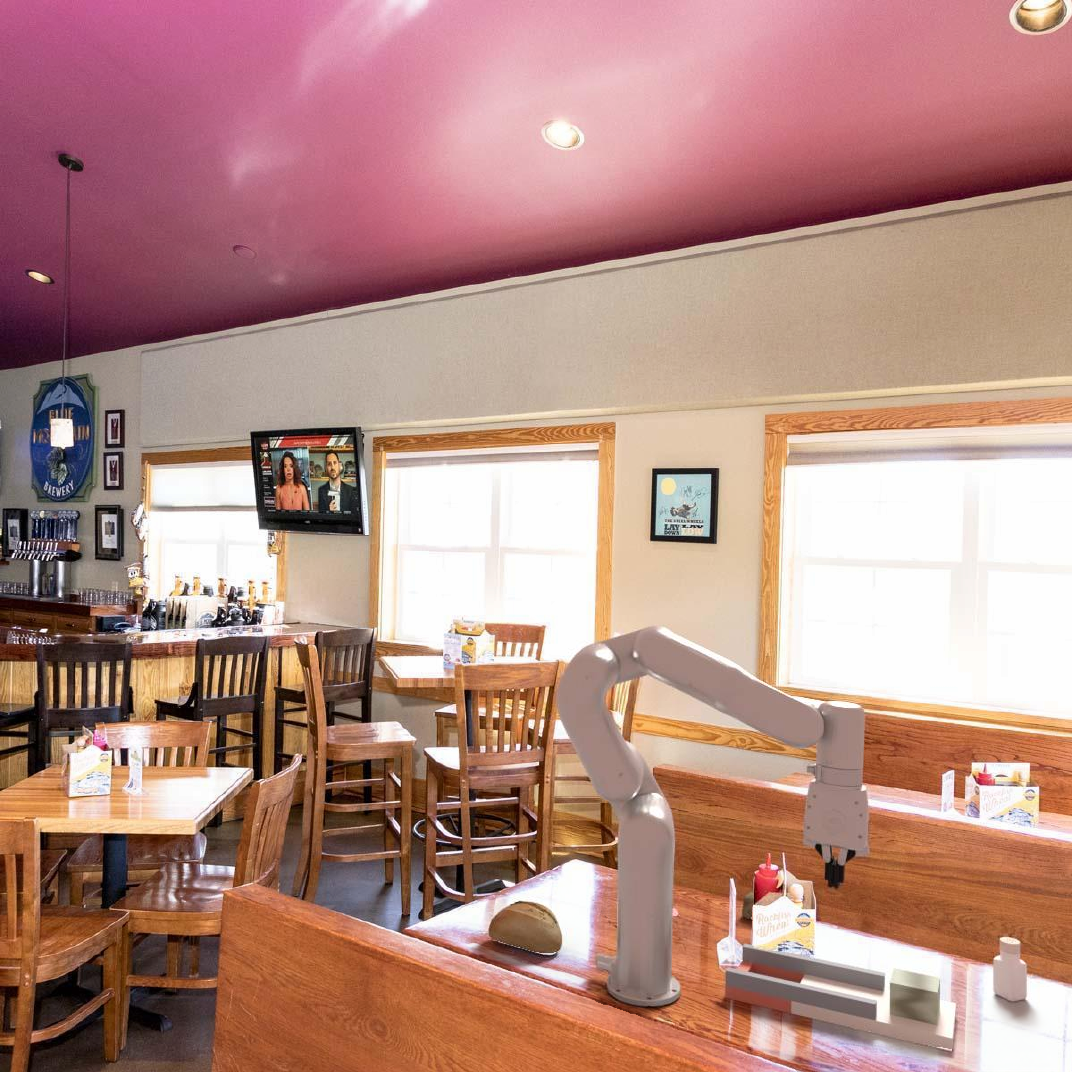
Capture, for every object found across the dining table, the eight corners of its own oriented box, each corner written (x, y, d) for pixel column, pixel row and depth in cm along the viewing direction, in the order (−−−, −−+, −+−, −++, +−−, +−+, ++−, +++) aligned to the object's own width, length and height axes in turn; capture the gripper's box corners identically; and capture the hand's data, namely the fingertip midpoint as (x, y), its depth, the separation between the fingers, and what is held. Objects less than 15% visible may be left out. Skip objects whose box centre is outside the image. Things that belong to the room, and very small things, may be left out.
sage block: (889, 1014, 144) (889, 982, 144) (893, 999, 149) (893, 968, 149) (937, 1025, 141) (937, 992, 141) (939, 1009, 146) (940, 977, 146)
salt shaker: (1012, 1003, 153) (1012, 946, 153) (991, 993, 157) (991, 937, 157) (1028, 999, 155) (1028, 943, 155) (1007, 989, 158) (1007, 934, 159)
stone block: (793, 933, 182) (793, 908, 182) (739, 919, 188) (739, 895, 189) (803, 924, 186) (803, 900, 187) (750, 911, 193) (750, 888, 193)
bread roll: (501, 931, 179) (502, 890, 179) (571, 945, 173) (572, 903, 173) (479, 949, 170) (480, 906, 170) (552, 964, 164) (553, 920, 164)
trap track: (725, 997, 153) (725, 970, 153) (744, 968, 164) (744, 943, 164) (952, 1051, 137) (952, 1021, 137) (955, 1015, 148) (956, 987, 148)
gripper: (789, 773, 152) (784, 882, 152) (883, 787, 145) (878, 902, 145) (798, 765, 159) (793, 870, 158) (888, 779, 152) (883, 889, 151)
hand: (834, 885), depth 151 cm, fingers closed
